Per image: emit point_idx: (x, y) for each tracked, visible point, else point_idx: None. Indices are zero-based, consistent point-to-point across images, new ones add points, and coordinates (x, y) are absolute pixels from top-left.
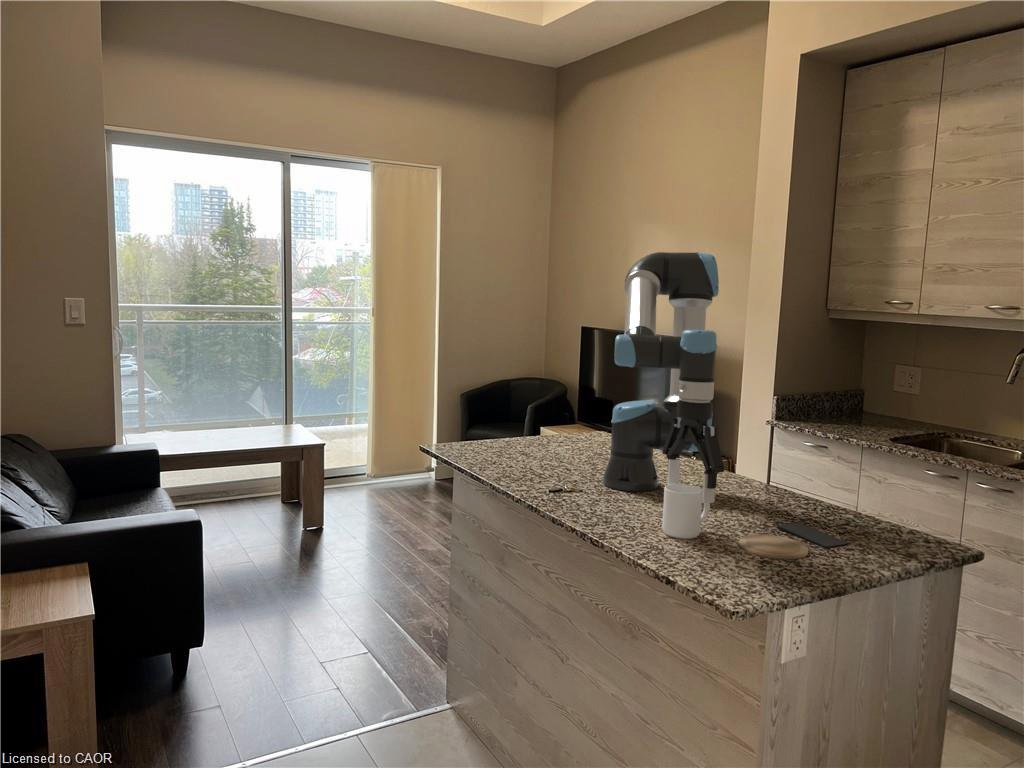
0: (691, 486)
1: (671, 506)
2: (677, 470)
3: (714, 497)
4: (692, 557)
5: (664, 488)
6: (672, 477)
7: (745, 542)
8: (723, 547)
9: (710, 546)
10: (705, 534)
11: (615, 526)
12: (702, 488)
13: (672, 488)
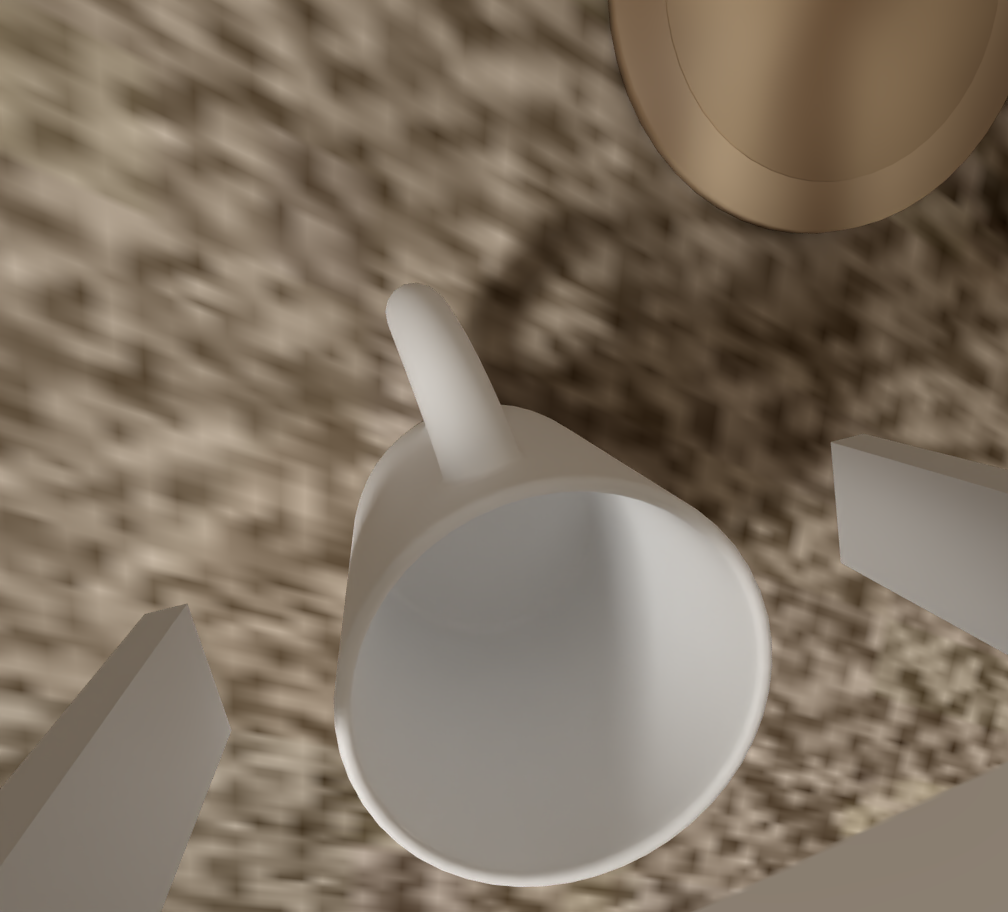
0: (425, 549)
1: (613, 735)
2: (107, 781)
3: (902, 445)
4: (865, 584)
5: (504, 877)
6: (180, 779)
7: (761, 171)
8: (761, 345)
9: (733, 421)
10: (517, 360)
11: (326, 886)
12: (960, 628)
13: (367, 739)
